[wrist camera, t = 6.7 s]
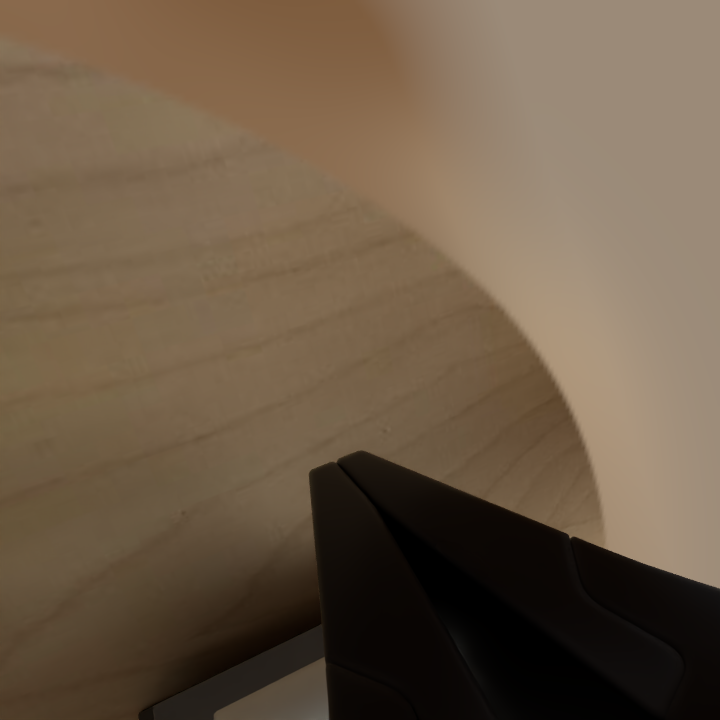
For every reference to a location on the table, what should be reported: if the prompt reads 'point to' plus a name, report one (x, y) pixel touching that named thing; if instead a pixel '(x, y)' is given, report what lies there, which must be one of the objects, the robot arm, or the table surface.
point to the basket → (260, 687)
